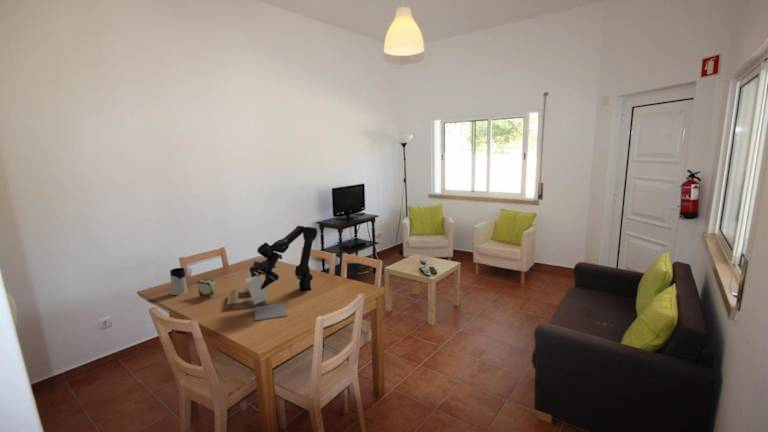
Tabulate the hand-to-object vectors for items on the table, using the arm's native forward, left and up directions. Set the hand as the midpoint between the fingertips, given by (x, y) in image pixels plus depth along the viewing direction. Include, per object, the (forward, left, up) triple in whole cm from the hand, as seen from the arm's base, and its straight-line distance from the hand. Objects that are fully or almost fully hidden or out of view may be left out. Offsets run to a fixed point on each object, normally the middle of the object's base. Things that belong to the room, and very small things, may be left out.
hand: (255, 287), depth 193 cm
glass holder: (+43, -44, -13) cm, 63 cm away
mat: (-7, +5, -13) cm, 16 cm away
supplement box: (-2, -1, -8) cm, 8 cm away
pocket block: (+5, -16, -13) cm, 21 cm away
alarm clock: (+27, -31, -13) cm, 43 cm away
